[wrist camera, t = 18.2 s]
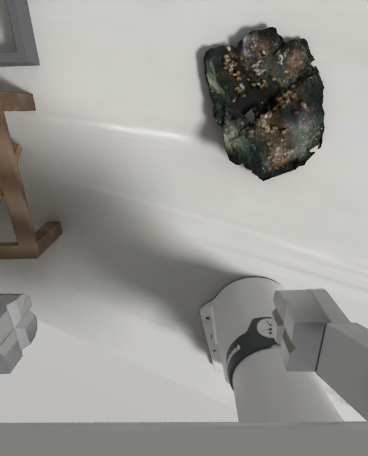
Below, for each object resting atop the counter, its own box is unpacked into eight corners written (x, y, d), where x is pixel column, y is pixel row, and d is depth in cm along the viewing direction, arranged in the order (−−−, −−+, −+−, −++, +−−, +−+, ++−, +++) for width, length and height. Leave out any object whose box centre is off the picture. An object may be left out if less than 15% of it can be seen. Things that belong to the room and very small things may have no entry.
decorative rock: (179, 63, 33) (302, -24, 29) (184, 71, 39) (289, -1, 35) (249, 199, 38) (363, 142, 34) (245, 189, 44) (343, 139, 40)
